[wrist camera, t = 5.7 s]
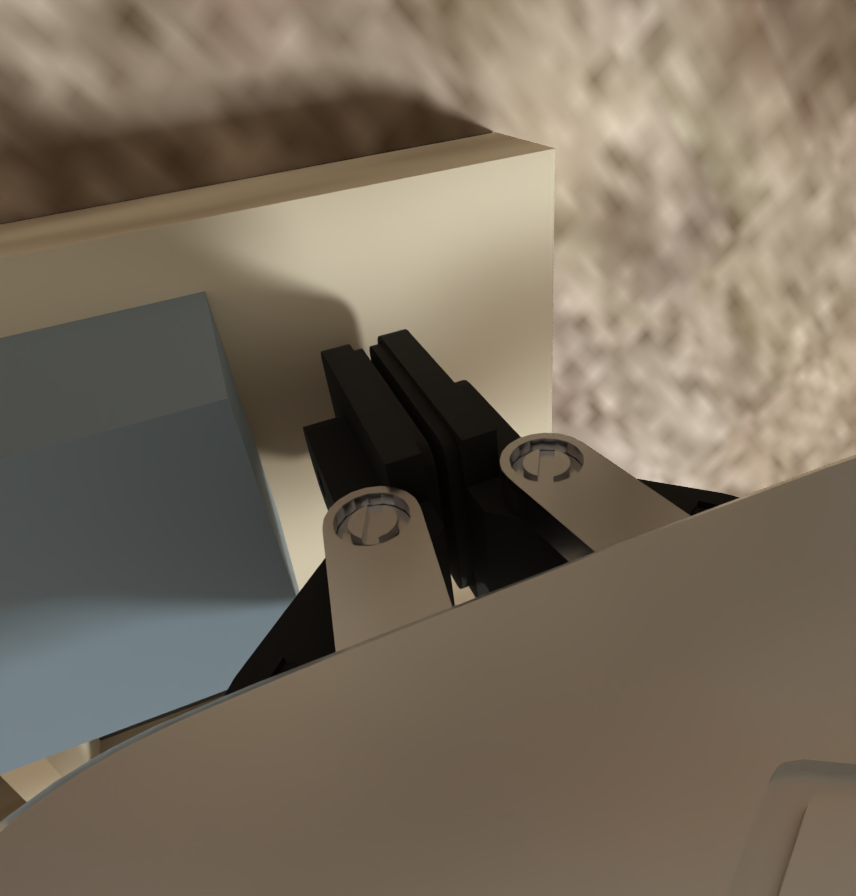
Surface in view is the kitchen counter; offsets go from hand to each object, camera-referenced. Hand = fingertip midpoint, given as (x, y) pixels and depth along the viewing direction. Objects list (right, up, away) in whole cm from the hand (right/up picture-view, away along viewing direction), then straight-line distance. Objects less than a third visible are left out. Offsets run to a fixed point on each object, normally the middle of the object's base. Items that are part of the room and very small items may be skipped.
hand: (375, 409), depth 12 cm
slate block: (-5, -1, -1) cm, 5 cm away
